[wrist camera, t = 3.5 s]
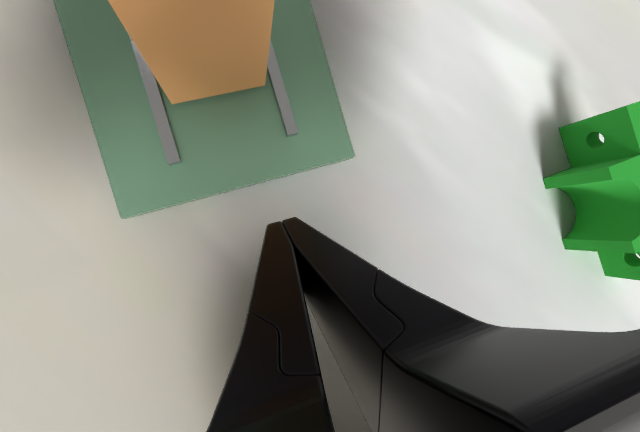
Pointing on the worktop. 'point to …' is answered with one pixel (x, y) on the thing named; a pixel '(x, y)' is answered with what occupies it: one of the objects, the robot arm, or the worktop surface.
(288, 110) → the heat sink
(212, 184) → the board
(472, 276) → the worktop surface
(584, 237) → the pipe clamp
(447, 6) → the worktop surface
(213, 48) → the orange block
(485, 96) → the worktop surface
